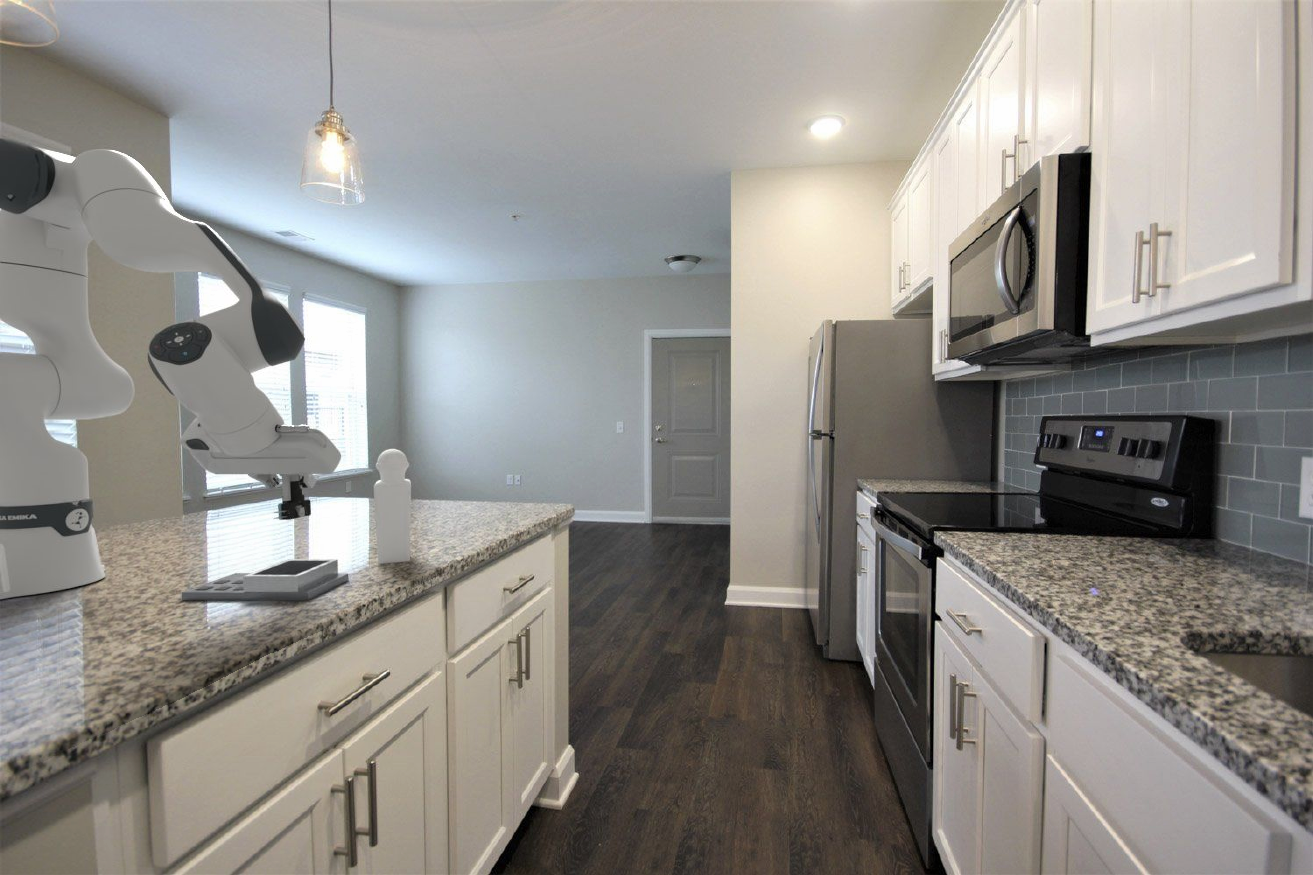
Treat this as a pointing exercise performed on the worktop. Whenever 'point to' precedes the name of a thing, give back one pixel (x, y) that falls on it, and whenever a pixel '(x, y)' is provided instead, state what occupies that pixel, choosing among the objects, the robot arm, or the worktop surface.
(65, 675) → the worktop surface
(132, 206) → the robot arm
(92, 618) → the worktop surface
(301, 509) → the push button
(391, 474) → the white bottle
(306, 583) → the organizer
